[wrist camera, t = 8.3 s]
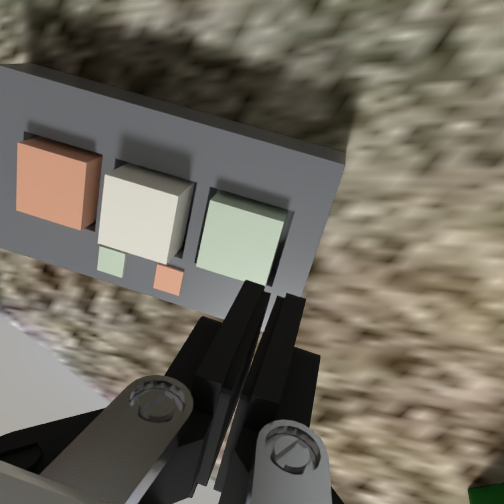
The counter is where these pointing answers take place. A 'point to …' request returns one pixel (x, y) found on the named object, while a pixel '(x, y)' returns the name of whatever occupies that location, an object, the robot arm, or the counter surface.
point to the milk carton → (487, 495)
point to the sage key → (241, 237)
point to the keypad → (167, 162)
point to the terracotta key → (58, 182)
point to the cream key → (144, 212)
